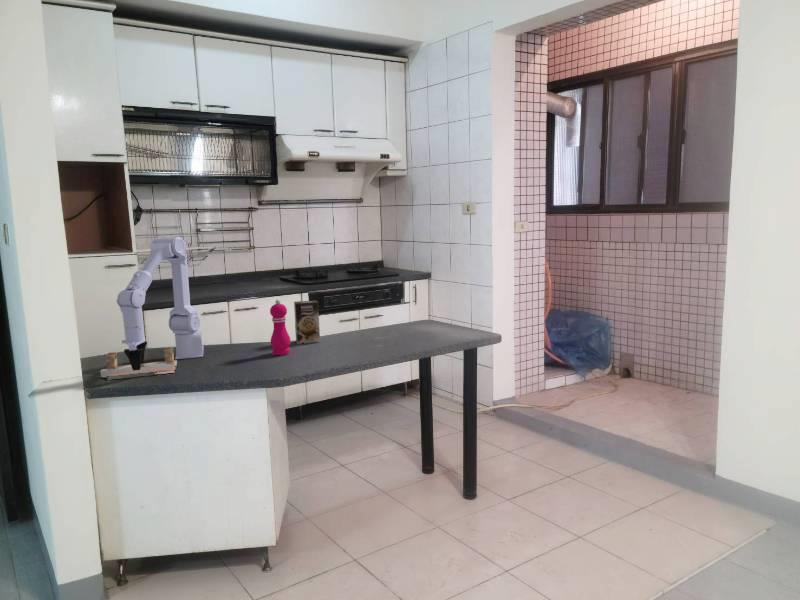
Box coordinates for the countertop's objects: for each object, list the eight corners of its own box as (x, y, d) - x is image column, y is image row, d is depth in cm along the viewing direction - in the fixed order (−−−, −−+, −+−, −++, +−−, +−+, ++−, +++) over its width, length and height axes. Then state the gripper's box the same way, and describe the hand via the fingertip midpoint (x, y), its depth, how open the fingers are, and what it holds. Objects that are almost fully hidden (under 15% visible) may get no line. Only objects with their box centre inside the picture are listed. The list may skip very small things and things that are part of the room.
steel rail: (174, 368, 196) (174, 362, 196) (174, 370, 194) (173, 363, 194) (102, 375, 190) (101, 369, 190) (101, 377, 188) (100, 371, 188)
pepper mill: (267, 355, 213) (263, 300, 210) (279, 350, 219) (276, 297, 216) (282, 356, 209) (279, 301, 206) (295, 352, 216) (292, 298, 213)
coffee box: (297, 344, 228) (294, 303, 226) (295, 341, 235) (293, 301, 232) (320, 342, 231) (318, 301, 228) (318, 339, 237) (316, 299, 234)
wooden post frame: (176, 362, 206) (175, 346, 205) (175, 367, 200) (174, 350, 199) (108, 369, 200) (106, 352, 199) (104, 374, 194) (102, 356, 193)
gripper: (123, 323, 196) (128, 363, 198) (116, 331, 182) (121, 374, 184) (146, 321, 198) (150, 360, 200) (141, 329, 184) (145, 371, 186)
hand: (138, 367), depth 192 cm, fingers open, 7 cm apart
